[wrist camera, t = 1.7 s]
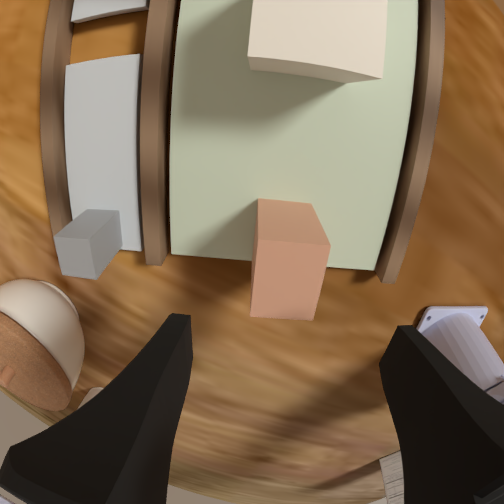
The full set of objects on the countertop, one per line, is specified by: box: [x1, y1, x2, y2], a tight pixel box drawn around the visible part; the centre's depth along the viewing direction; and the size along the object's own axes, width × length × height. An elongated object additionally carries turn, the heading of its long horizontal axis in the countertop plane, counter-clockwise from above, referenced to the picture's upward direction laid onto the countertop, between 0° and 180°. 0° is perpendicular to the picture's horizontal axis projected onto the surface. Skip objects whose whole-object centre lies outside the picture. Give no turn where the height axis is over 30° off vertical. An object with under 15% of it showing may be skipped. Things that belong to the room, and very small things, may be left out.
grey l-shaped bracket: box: [54, 54, 144, 280], centre depth 14 cm, size 12×5×5 cm, turn 175°
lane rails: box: [40, 0, 445, 284], centre depth 14 cm, size 21×23×2 cm
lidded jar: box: [0, 279, 85, 411], centre depth 19 cm, size 11×11×9 cm
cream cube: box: [247, 0, 388, 84], centre depth 10 cm, size 5×5×5 cm
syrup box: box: [379, 450, 404, 504], centre depth 31 cm, size 6×6×14 cm
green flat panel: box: [170, 0, 418, 320], centre depth 12 cm, size 20×13×6 cm, turn 175°
